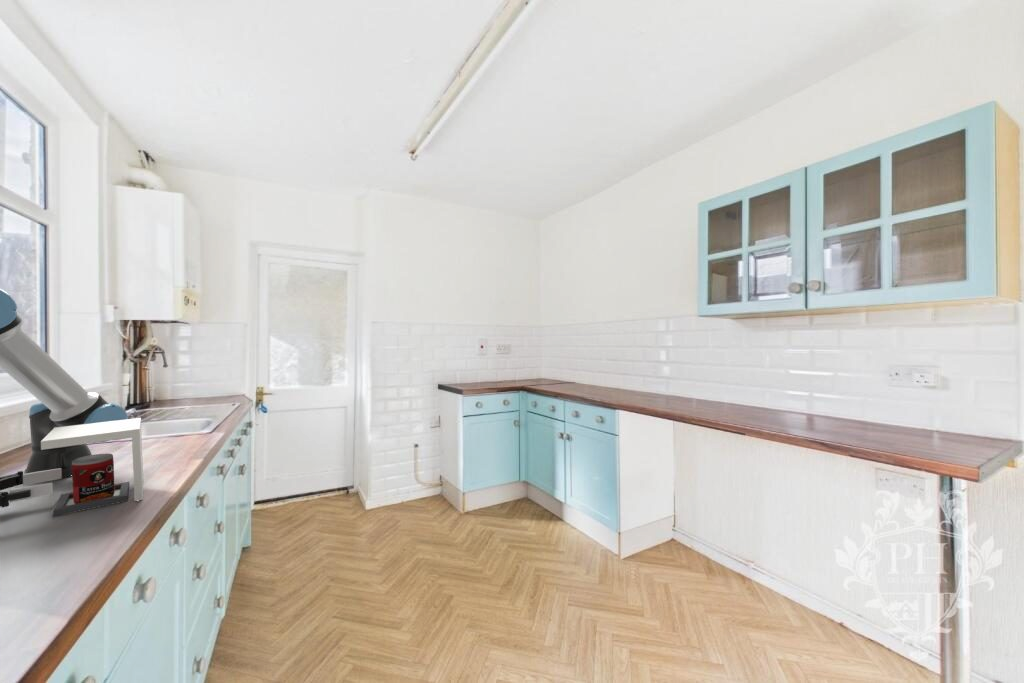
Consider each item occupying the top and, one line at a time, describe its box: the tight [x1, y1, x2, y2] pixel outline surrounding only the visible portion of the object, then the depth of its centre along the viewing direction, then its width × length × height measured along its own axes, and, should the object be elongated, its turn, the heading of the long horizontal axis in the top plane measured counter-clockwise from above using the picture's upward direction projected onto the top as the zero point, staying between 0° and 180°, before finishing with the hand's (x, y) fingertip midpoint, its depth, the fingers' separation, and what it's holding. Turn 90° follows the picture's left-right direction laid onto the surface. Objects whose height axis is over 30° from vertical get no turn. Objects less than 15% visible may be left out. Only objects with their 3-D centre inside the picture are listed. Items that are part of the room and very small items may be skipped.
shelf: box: [41, 417, 144, 502], centre depth 108 cm, size 17×18×19 cm
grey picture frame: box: [52, 481, 130, 517], centre depth 107 cm, size 13×13×2 cm
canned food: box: [71, 453, 115, 504], centre depth 107 cm, size 8×8×11 cm
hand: (57, 480), depth 103 cm, fingers open, 13 cm apart
